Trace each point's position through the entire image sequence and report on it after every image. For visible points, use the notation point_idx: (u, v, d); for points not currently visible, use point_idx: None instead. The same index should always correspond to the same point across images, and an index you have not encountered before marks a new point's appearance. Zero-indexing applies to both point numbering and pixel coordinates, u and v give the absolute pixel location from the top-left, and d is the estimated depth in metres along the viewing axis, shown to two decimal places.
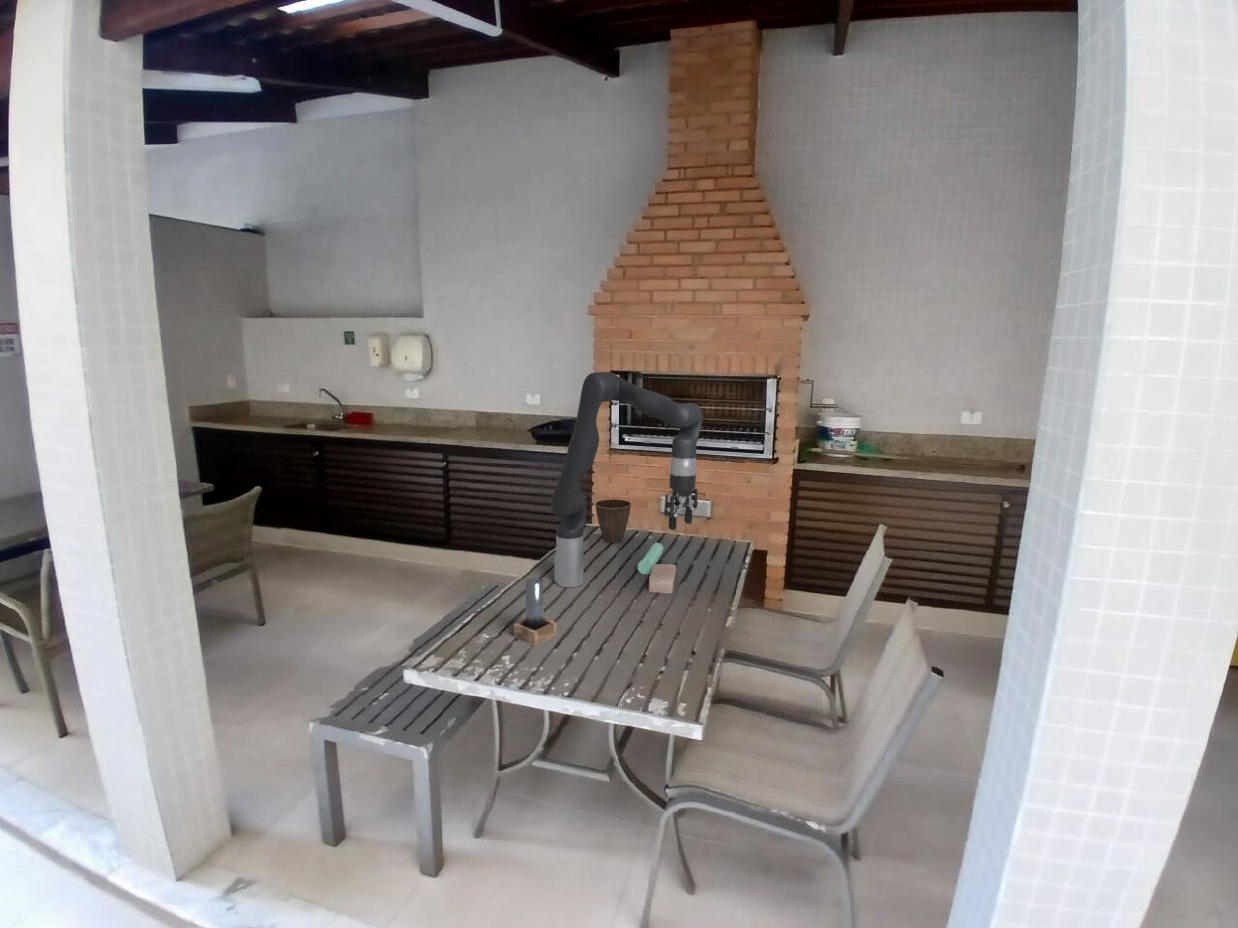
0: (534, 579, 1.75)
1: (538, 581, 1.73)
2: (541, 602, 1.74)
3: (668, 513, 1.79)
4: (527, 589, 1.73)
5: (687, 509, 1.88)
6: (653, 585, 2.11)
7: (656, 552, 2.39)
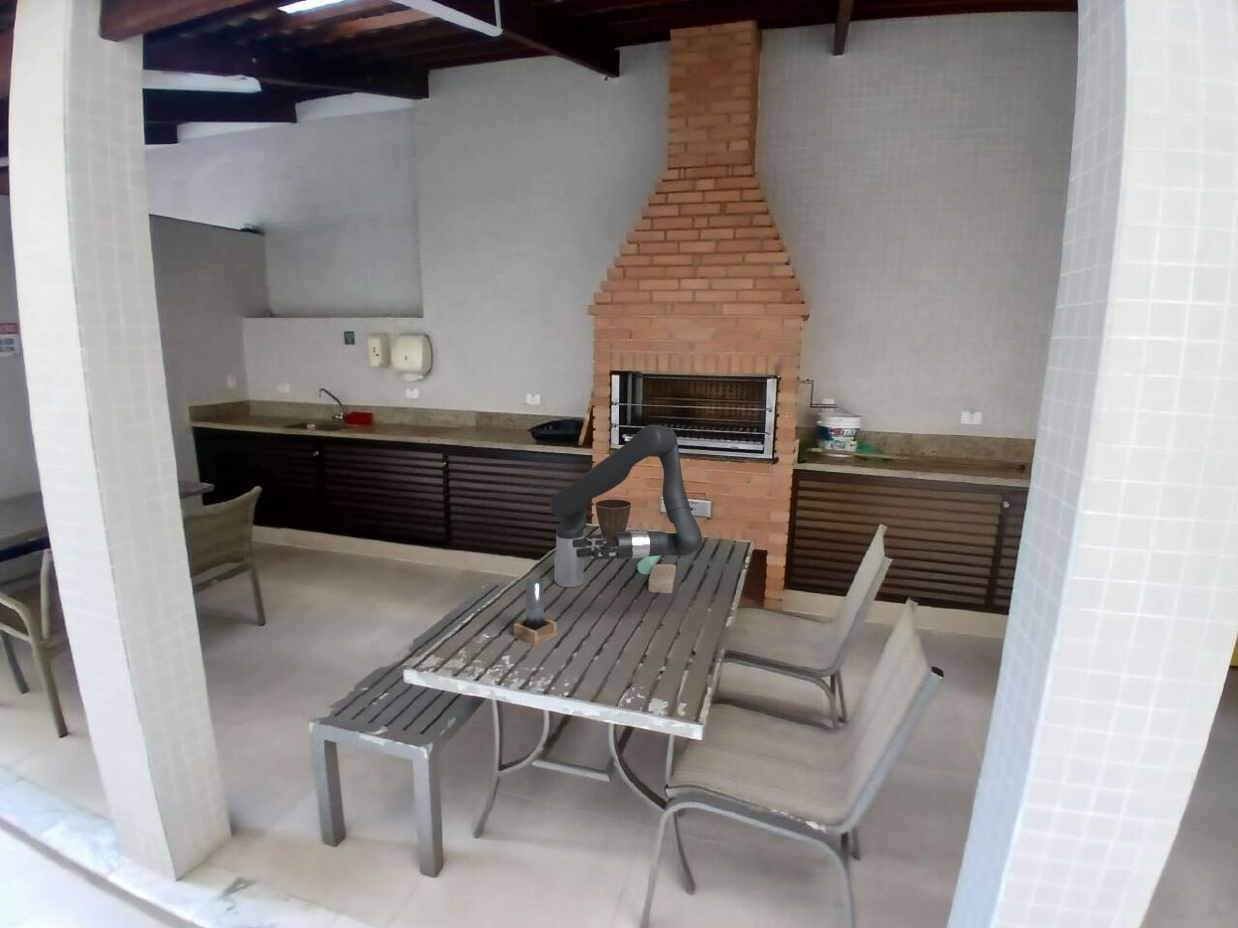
0: (534, 579, 1.75)
1: (538, 581, 1.73)
2: (541, 602, 1.74)
3: (597, 555, 1.69)
4: (527, 589, 1.73)
5: (587, 541, 1.79)
6: (653, 585, 2.11)
7: None
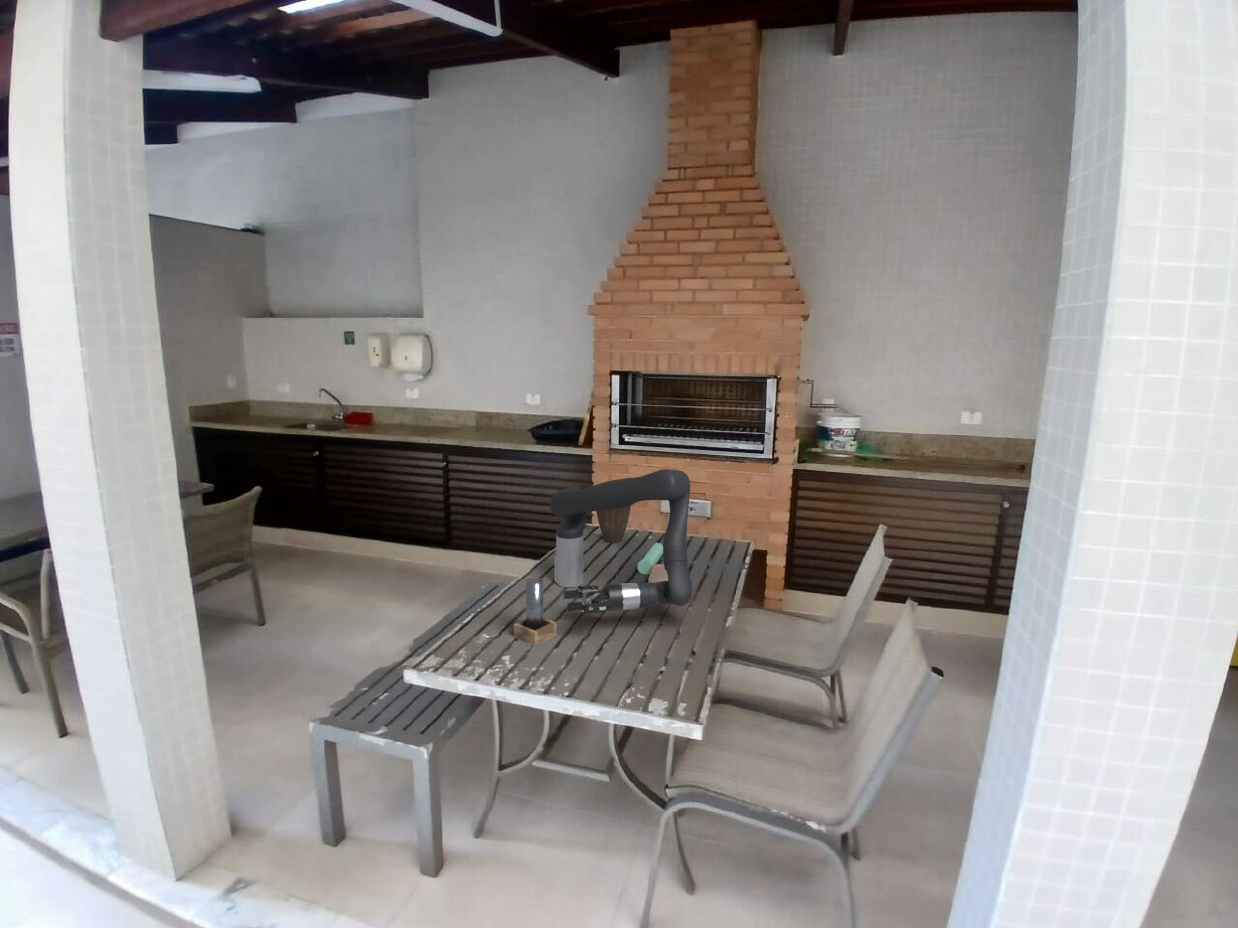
0: (534, 579, 1.75)
1: (538, 581, 1.73)
2: (541, 602, 1.74)
3: (587, 610, 1.71)
4: (527, 589, 1.73)
5: (578, 593, 1.81)
6: None
7: (657, 552, 2.39)
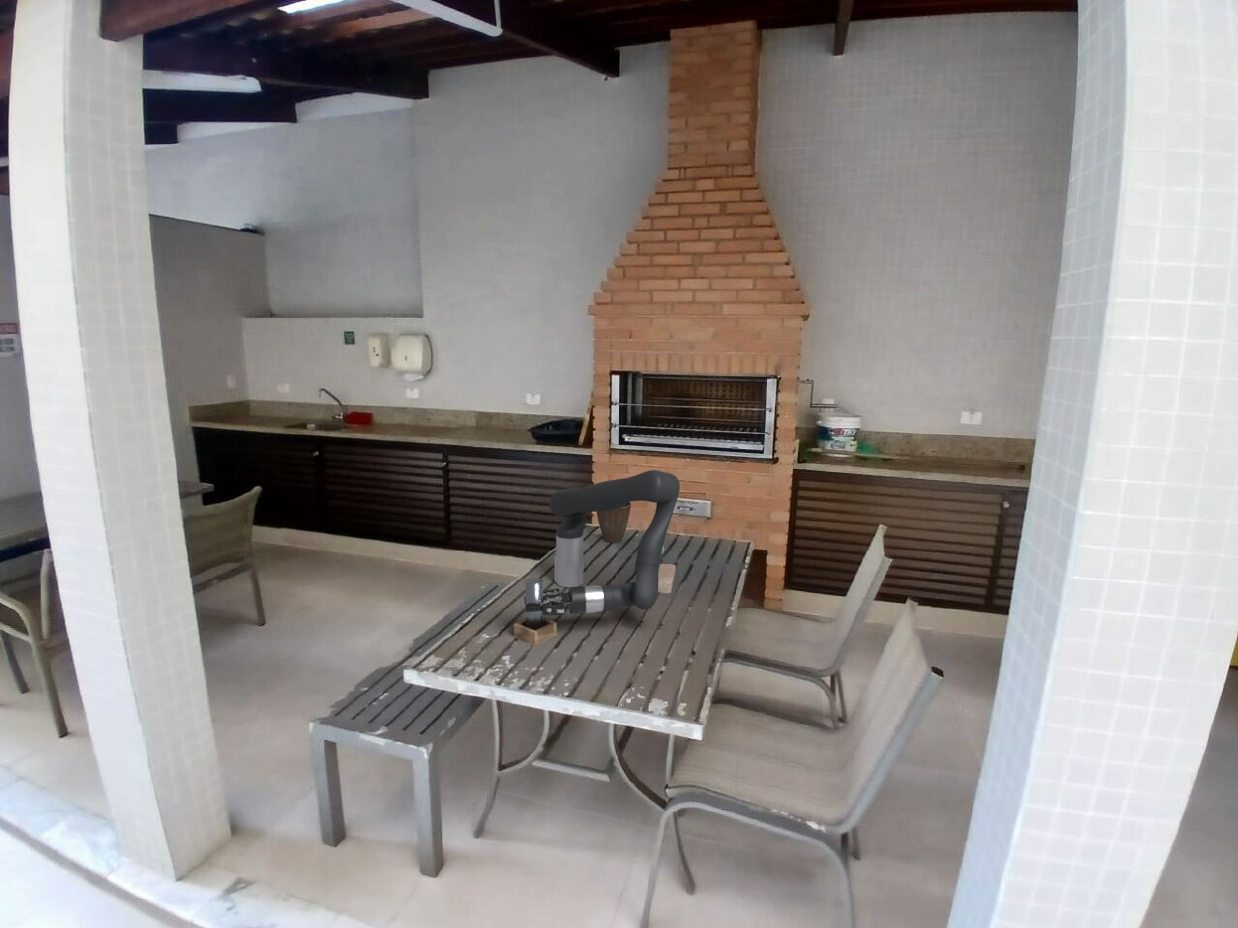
0: (534, 579, 1.75)
1: (538, 581, 1.73)
2: None
3: (545, 611, 1.70)
4: (526, 589, 1.73)
5: None
6: None
7: None
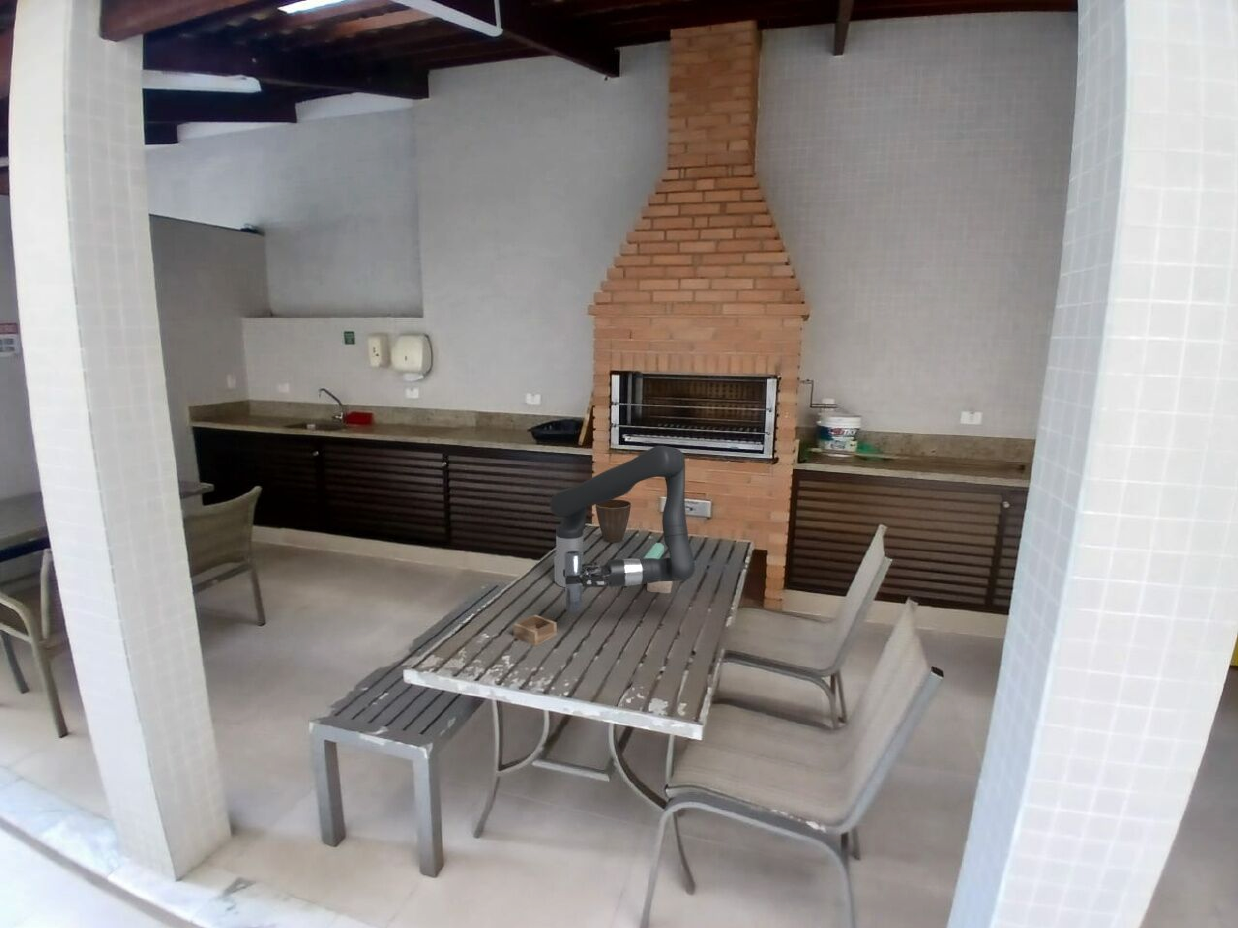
0: (573, 552, 1.76)
1: (577, 554, 1.74)
2: (580, 574, 1.74)
3: (585, 582, 1.71)
4: (566, 562, 1.73)
5: None
6: (651, 584, 2.11)
7: (657, 552, 2.39)
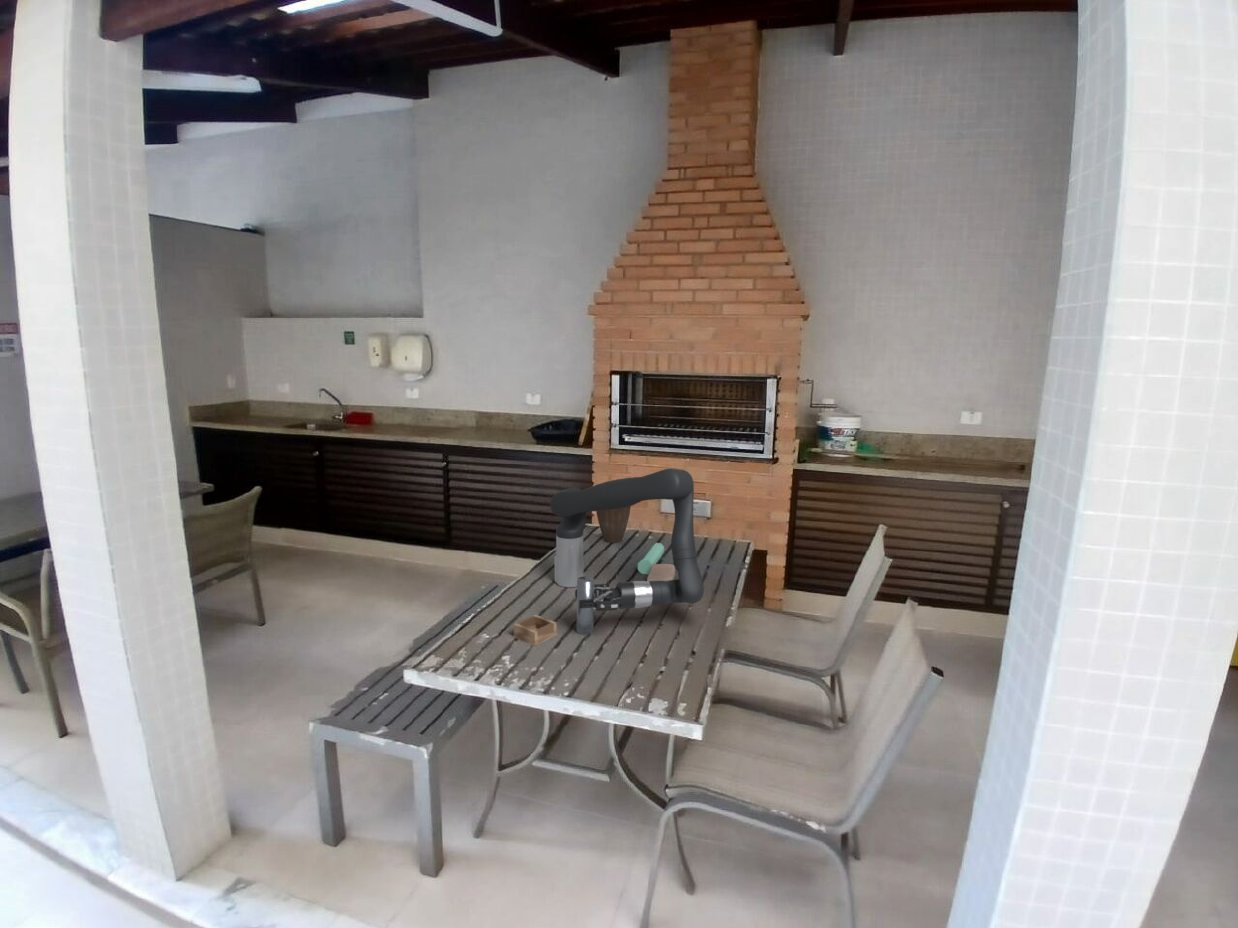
0: (585, 577, 1.78)
1: (590, 580, 1.76)
2: (592, 600, 1.77)
3: (599, 607, 1.72)
4: (578, 588, 1.76)
5: None
6: None
7: (657, 552, 2.39)
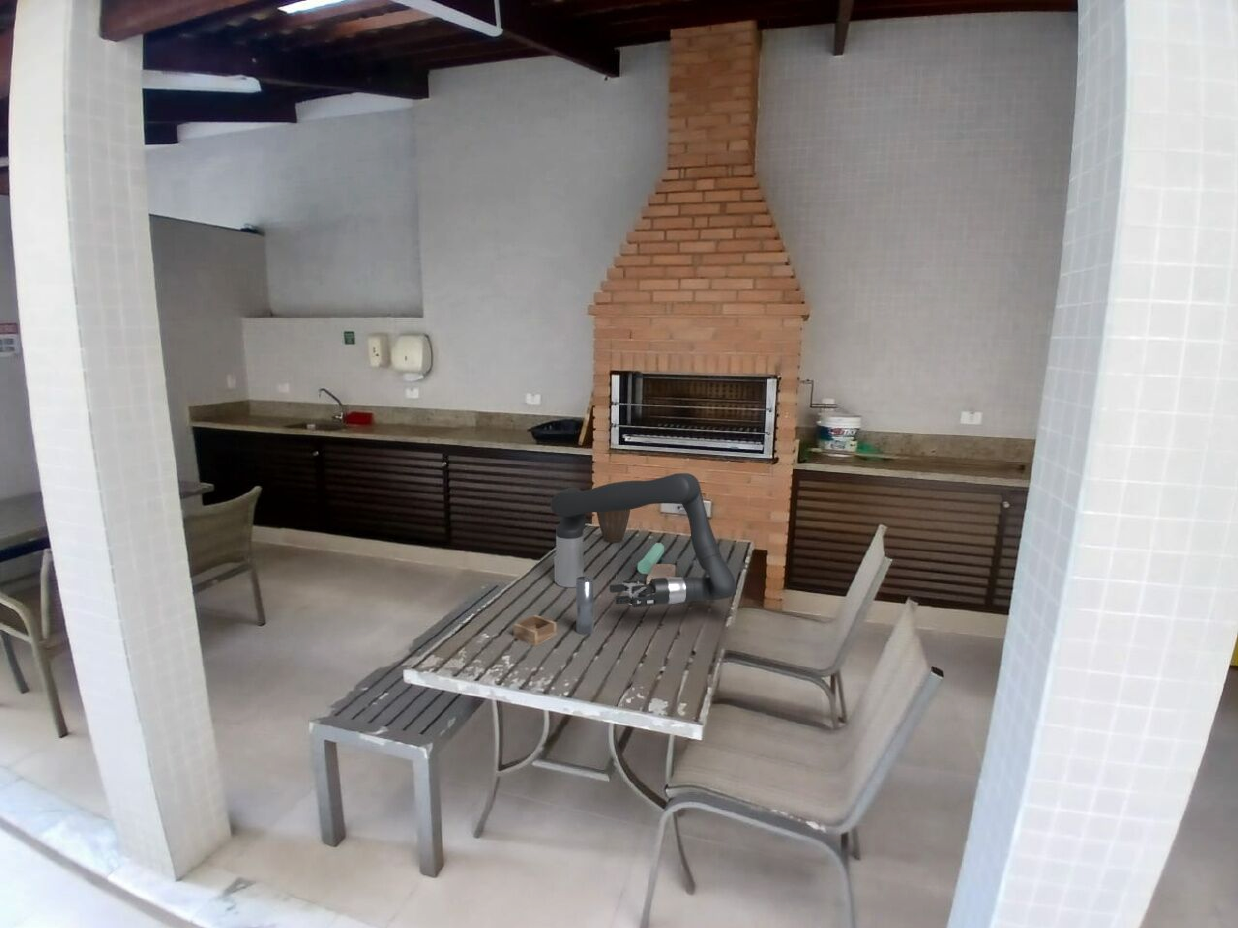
0: (584, 578, 1.78)
1: (589, 580, 1.76)
2: (591, 600, 1.77)
3: (636, 603, 1.74)
4: (578, 588, 1.76)
5: (624, 586, 1.84)
6: None
7: (657, 552, 2.39)
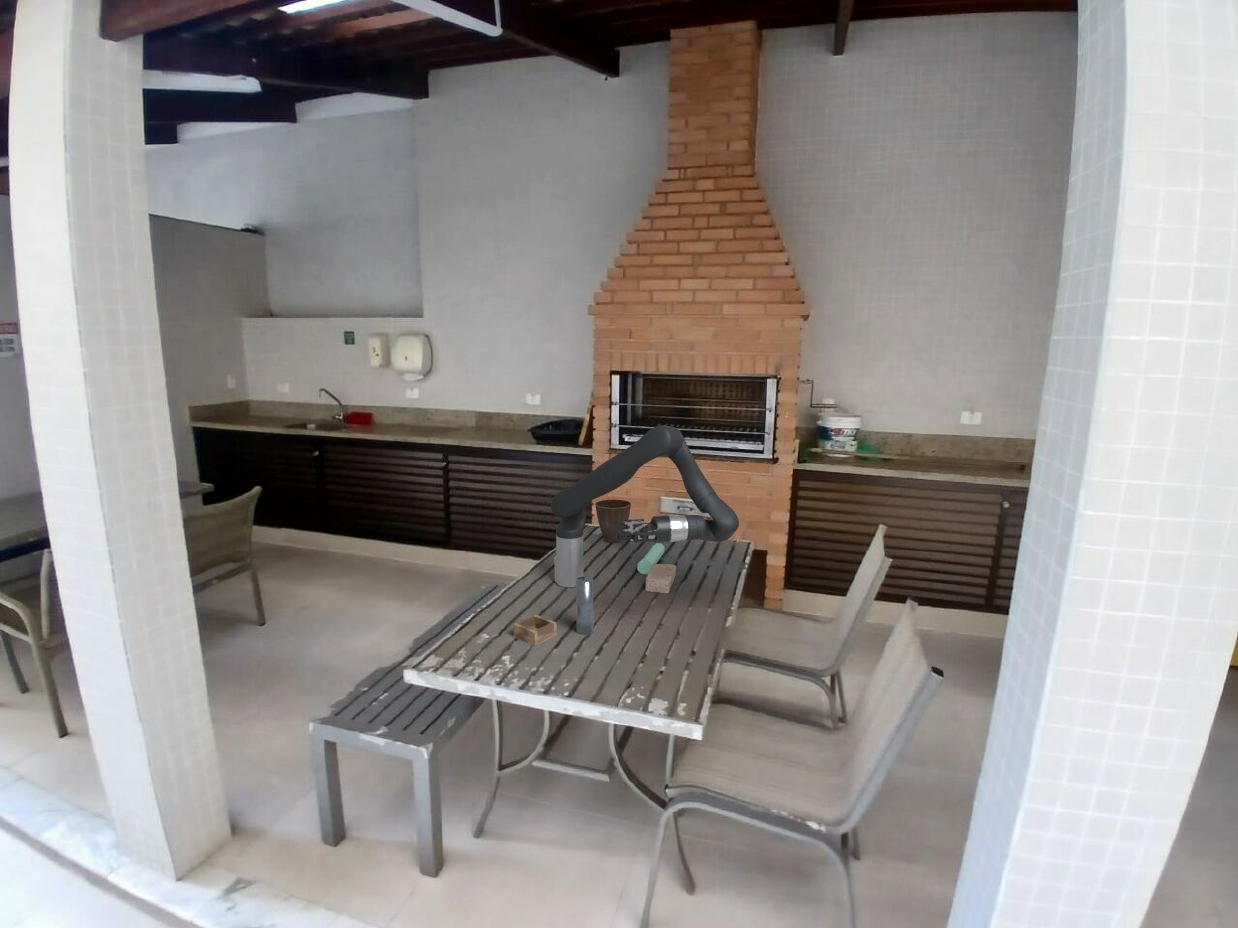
0: (584, 578, 1.78)
1: (589, 580, 1.76)
2: (591, 600, 1.77)
3: (637, 538, 1.70)
4: (577, 588, 1.76)
5: (625, 525, 1.81)
6: (649, 584, 2.11)
7: (657, 552, 2.39)
